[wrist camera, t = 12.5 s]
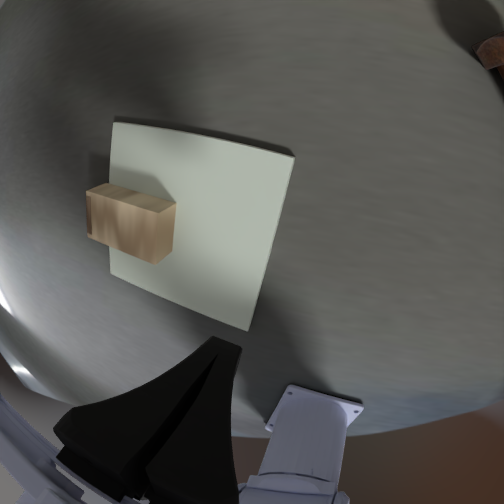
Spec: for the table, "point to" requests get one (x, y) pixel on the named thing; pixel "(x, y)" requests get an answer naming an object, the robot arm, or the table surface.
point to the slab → (131, 221)
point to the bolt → (491, 52)
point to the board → (203, 216)
